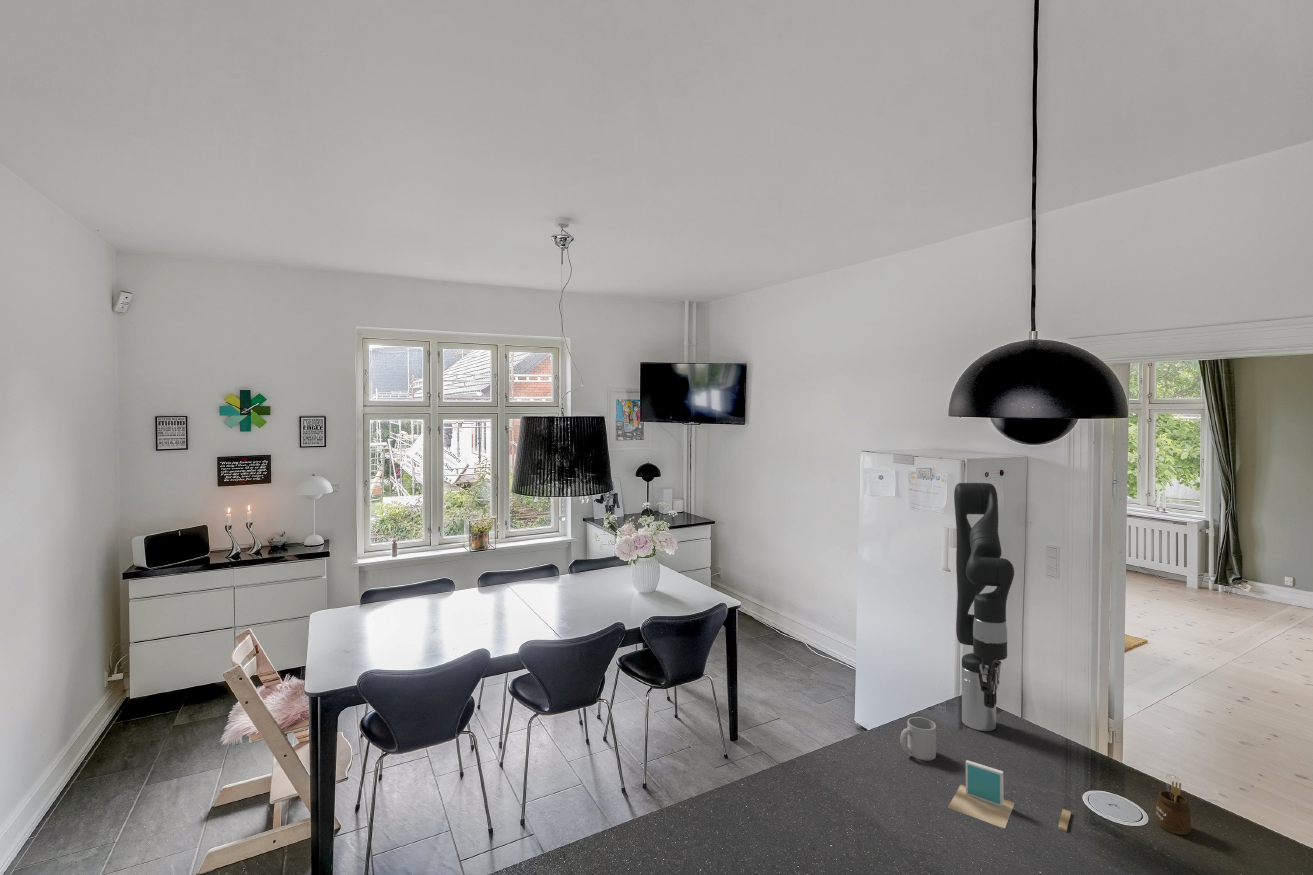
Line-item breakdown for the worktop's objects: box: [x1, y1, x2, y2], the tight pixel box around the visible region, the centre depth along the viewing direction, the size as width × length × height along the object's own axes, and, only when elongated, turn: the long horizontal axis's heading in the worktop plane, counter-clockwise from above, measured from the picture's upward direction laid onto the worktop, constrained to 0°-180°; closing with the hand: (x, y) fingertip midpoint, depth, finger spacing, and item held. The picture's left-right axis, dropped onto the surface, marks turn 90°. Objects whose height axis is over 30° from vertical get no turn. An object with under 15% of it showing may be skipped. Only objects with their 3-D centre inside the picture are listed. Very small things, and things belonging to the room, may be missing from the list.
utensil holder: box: [1155, 773, 1192, 836], centre depth 136 cm, size 6×6×12 cm
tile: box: [965, 759, 1004, 807], centre depth 146 cm, size 1×8×8 cm, turn 50°
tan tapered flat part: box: [1057, 808, 1072, 833], centre depth 136 cm, size 13×4×1 cm, turn 140°
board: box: [947, 784, 1016, 829], centre depth 144 cm, size 12×12×1 cm
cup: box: [899, 716, 937, 761], centre depth 167 cm, size 7×10×9 cm
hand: (990, 704), depth 151 cm, fingers closed
